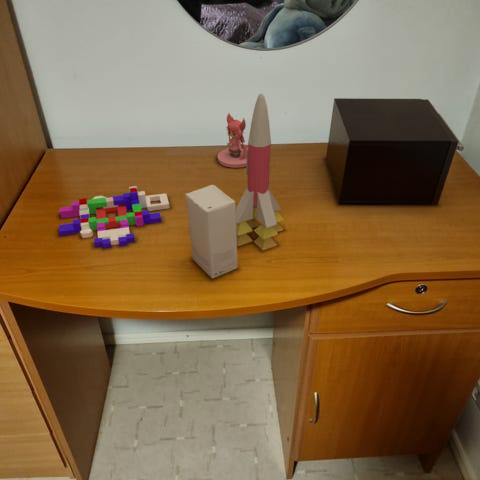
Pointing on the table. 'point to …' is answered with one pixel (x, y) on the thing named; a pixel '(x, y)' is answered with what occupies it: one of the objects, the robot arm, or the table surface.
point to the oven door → (453, 146)
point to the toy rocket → (258, 185)
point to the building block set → (124, 219)
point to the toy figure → (234, 145)
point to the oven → (385, 151)
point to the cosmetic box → (212, 230)
